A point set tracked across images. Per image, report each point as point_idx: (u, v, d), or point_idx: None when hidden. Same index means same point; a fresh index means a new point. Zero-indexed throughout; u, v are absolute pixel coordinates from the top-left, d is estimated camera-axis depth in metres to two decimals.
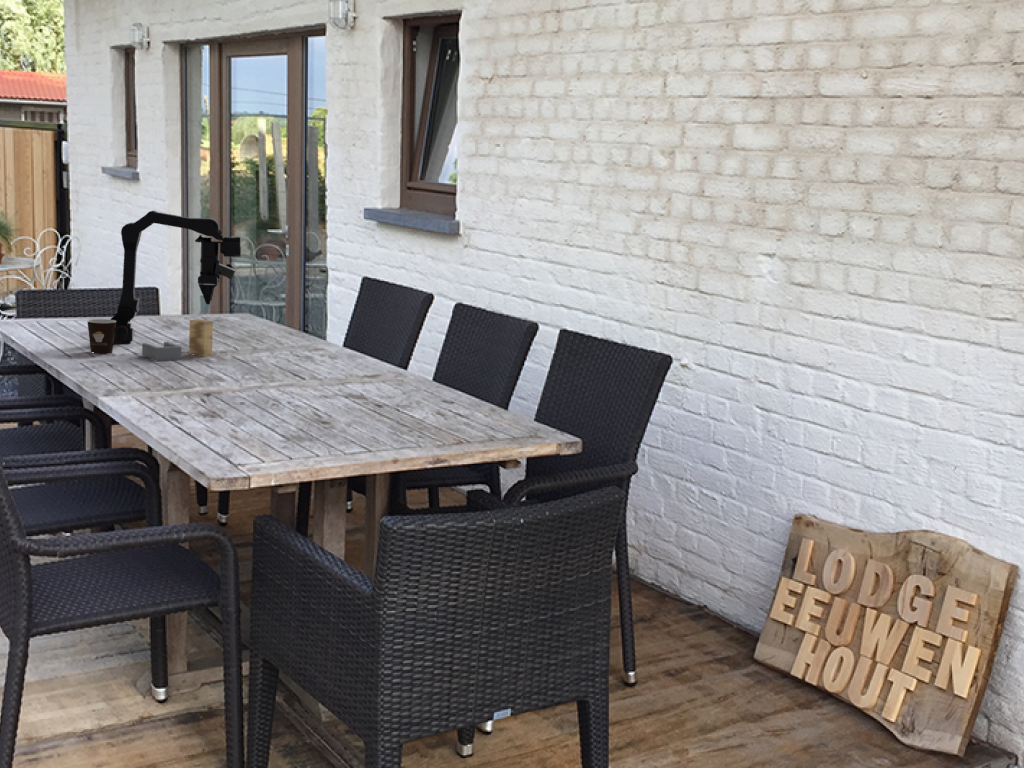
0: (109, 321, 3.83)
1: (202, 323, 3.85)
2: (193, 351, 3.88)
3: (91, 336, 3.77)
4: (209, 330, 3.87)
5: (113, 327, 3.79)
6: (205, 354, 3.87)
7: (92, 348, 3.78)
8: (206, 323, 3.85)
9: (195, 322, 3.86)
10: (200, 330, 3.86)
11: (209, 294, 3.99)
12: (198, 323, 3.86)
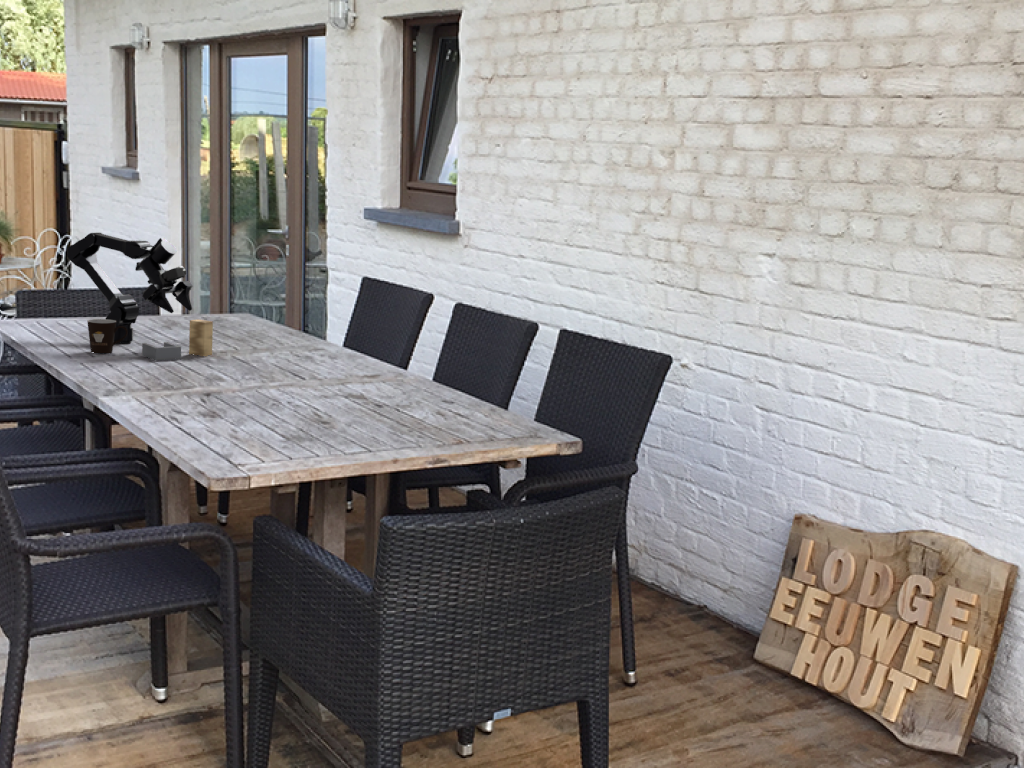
0: (109, 321, 3.83)
1: (202, 323, 3.85)
2: (193, 351, 3.88)
3: (91, 336, 3.77)
4: (209, 330, 3.87)
5: (113, 327, 3.79)
6: (205, 354, 3.87)
7: (92, 348, 3.78)
8: (206, 323, 3.85)
9: (195, 322, 3.86)
10: (200, 330, 3.86)
11: (165, 303, 3.85)
12: (198, 323, 3.86)
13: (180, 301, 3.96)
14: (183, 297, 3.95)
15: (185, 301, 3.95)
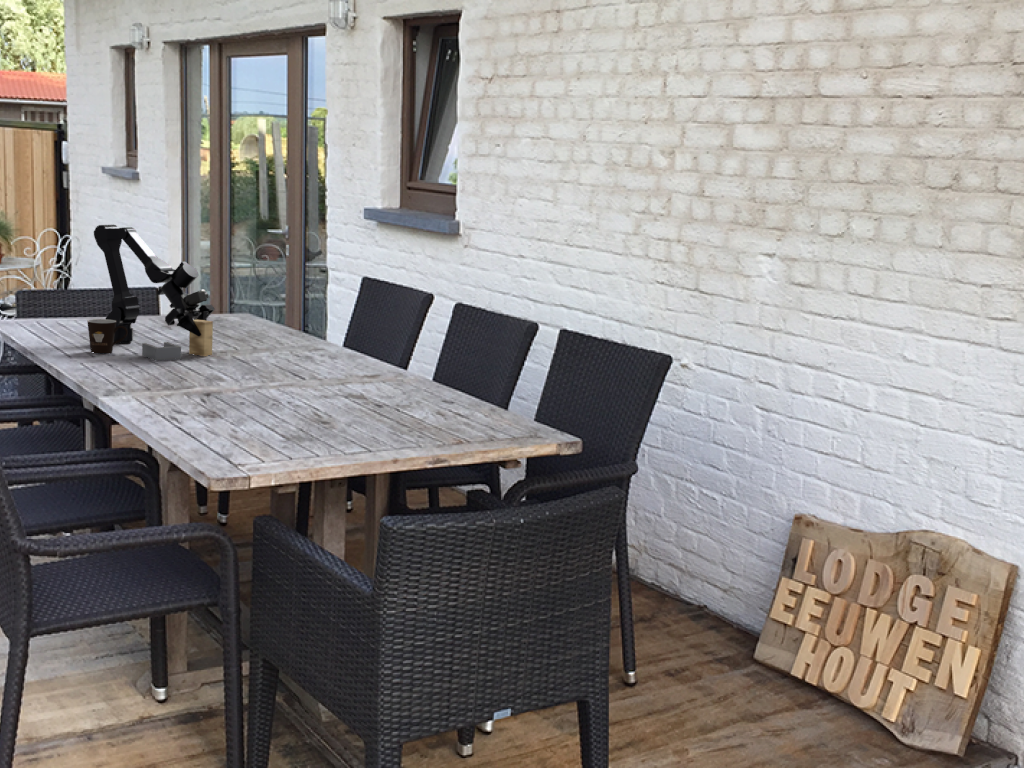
0: (109, 321, 3.83)
1: (202, 323, 3.85)
2: (193, 351, 3.88)
3: (91, 336, 3.77)
4: (209, 330, 3.87)
5: (113, 327, 3.79)
6: (205, 354, 3.87)
7: (92, 348, 3.78)
8: (206, 323, 3.85)
9: (195, 322, 3.86)
10: (200, 329, 3.86)
11: (192, 326, 3.85)
12: (198, 323, 3.86)
13: None
14: None
15: None
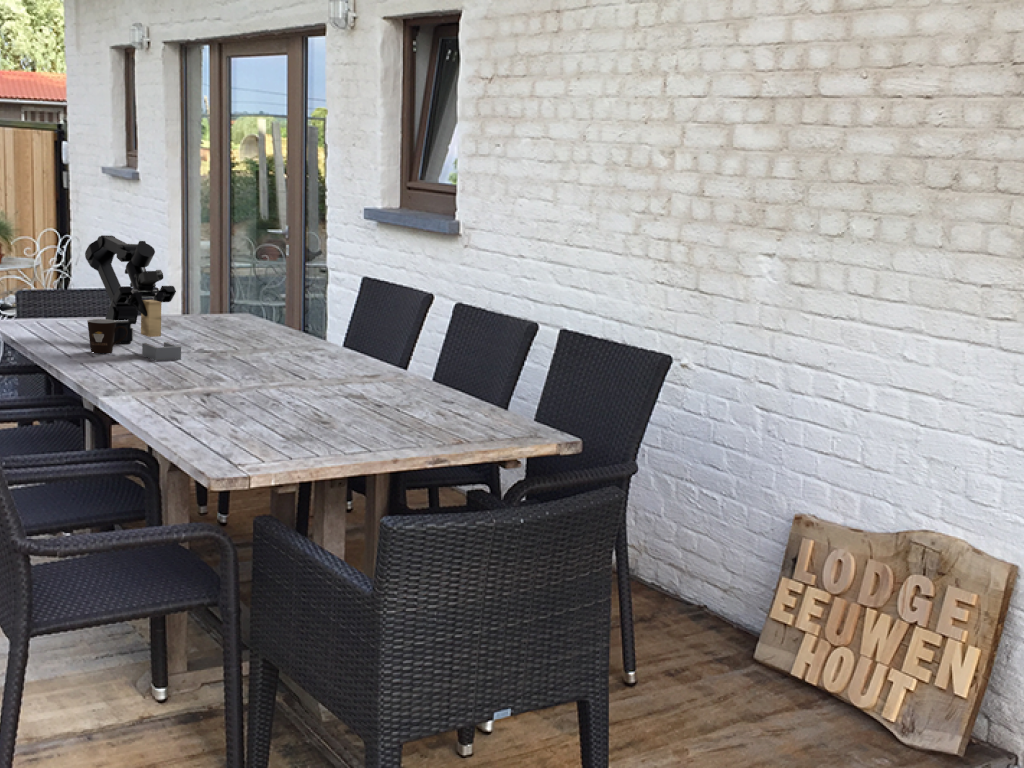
0: (109, 321, 3.83)
1: (148, 303, 3.80)
2: (143, 331, 3.84)
3: (91, 336, 3.77)
4: (156, 311, 3.81)
5: (113, 327, 3.79)
6: (151, 335, 3.81)
7: (92, 348, 3.78)
8: (152, 303, 3.80)
9: (144, 302, 3.82)
10: (146, 309, 3.81)
11: (140, 306, 3.81)
12: (146, 303, 3.81)
13: None
14: None
15: None
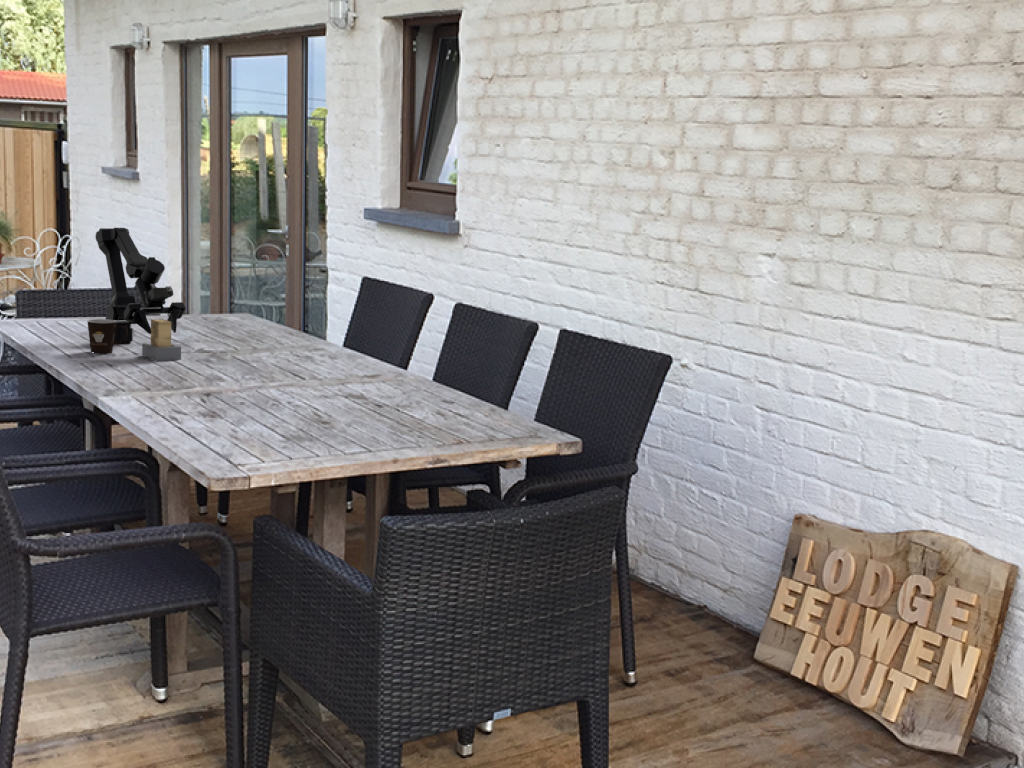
0: (109, 321, 3.83)
1: (157, 323, 3.75)
2: None
3: (91, 336, 3.77)
4: (166, 330, 3.76)
5: (113, 327, 3.79)
6: None
7: (92, 348, 3.78)
8: (161, 323, 3.75)
9: (154, 321, 3.77)
10: (156, 329, 3.76)
11: (144, 323, 3.75)
12: (155, 323, 3.76)
13: None
14: (171, 319, 3.82)
15: (172, 323, 3.81)
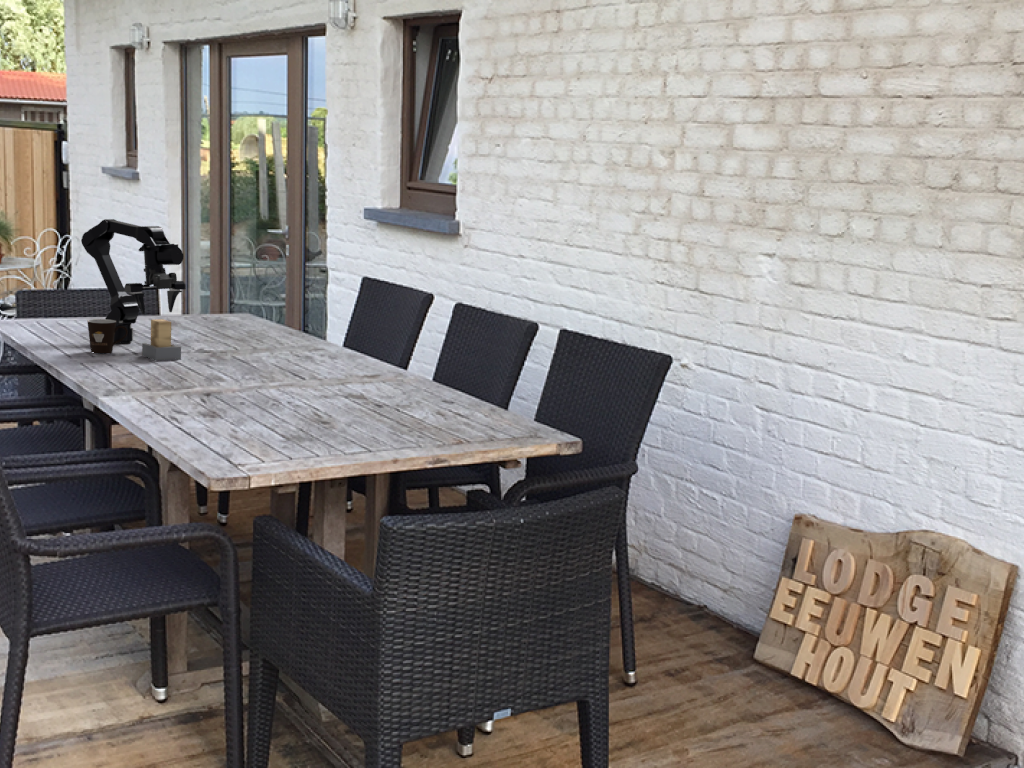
0: (109, 321, 3.83)
1: (157, 323, 3.75)
2: None
3: (91, 336, 3.77)
4: (166, 330, 3.76)
5: (113, 327, 3.79)
6: None
7: (92, 348, 3.78)
8: (161, 323, 3.75)
9: (154, 321, 3.77)
10: (156, 329, 3.76)
11: (140, 303, 3.89)
12: (155, 323, 3.76)
13: (168, 297, 3.97)
14: (170, 296, 3.96)
15: (170, 301, 3.96)
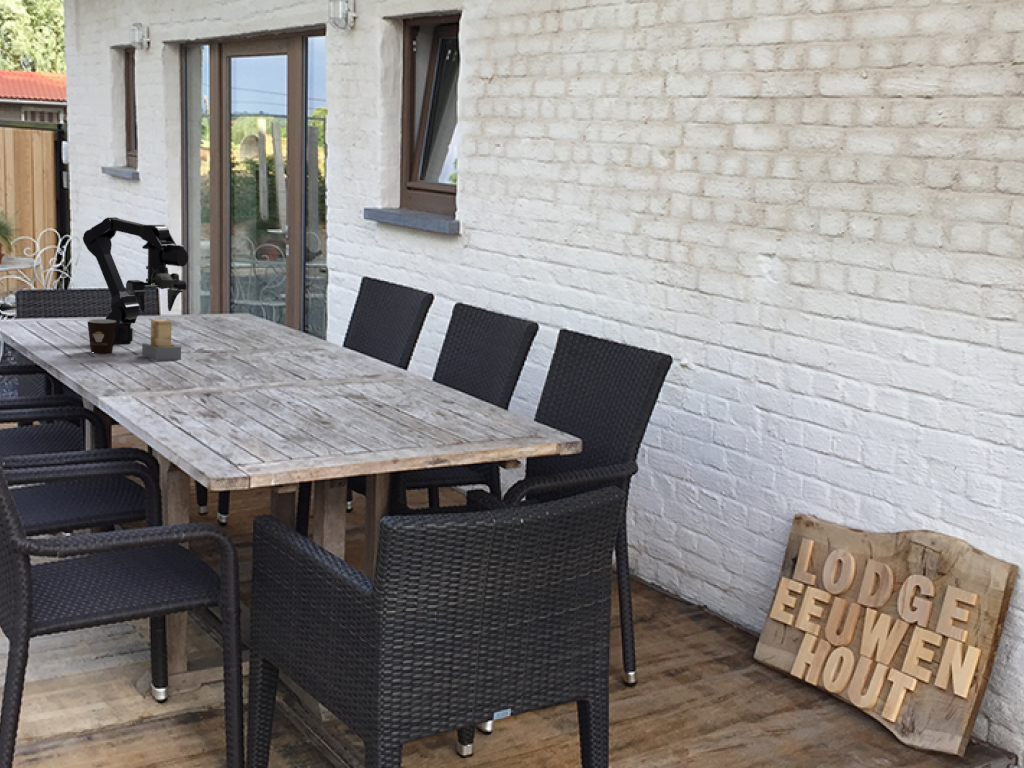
0: (109, 321, 3.83)
1: (157, 323, 3.75)
2: None
3: (91, 336, 3.77)
4: (166, 330, 3.76)
5: (113, 327, 3.79)
6: None
7: (92, 348, 3.78)
8: (161, 323, 3.75)
9: (154, 321, 3.77)
10: (156, 329, 3.76)
11: (140, 301, 3.90)
12: (155, 323, 3.76)
13: (168, 295, 3.98)
14: (170, 295, 3.97)
15: (170, 300, 3.97)
